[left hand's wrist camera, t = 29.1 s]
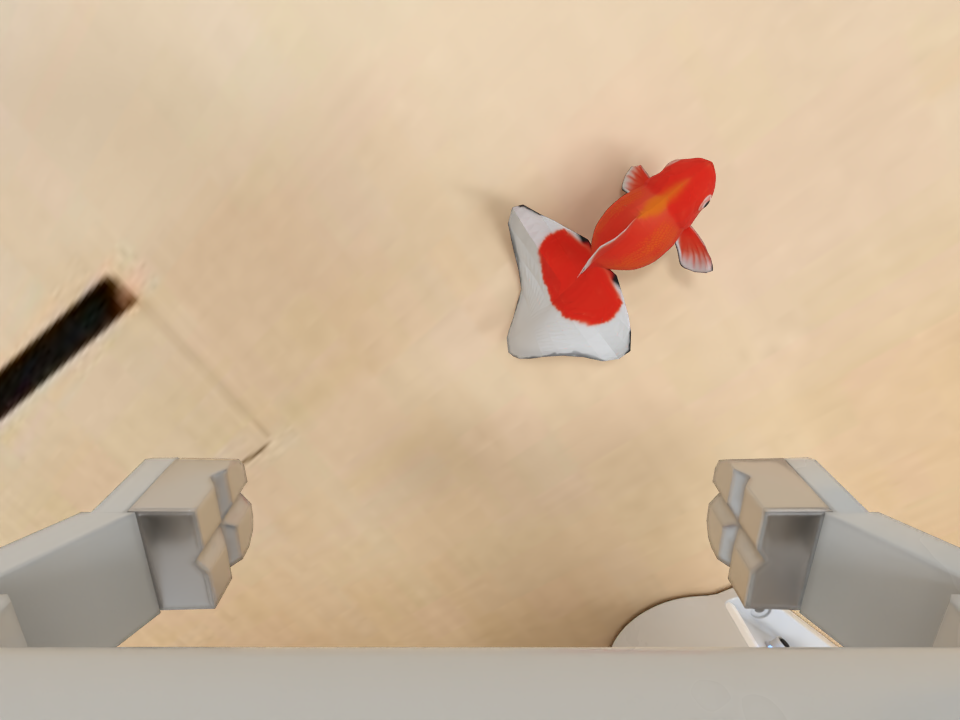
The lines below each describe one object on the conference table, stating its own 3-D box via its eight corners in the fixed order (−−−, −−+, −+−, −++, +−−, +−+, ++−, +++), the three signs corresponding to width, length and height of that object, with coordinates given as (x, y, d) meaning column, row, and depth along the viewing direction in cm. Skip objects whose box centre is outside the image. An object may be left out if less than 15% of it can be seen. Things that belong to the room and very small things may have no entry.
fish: (780, 295, 35) (756, 326, 27) (559, 370, 44) (491, 411, 36) (713, 126, 35) (668, 106, 27) (505, 237, 44) (424, 247, 36)
